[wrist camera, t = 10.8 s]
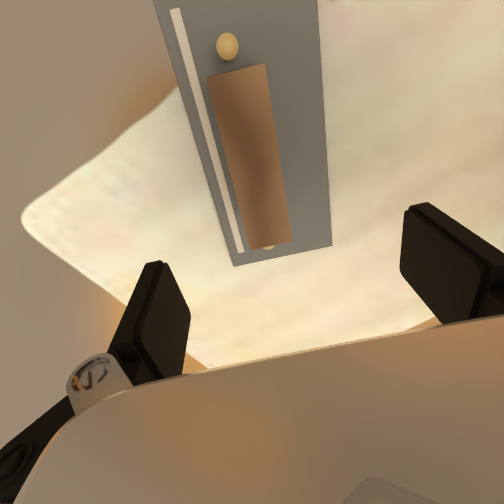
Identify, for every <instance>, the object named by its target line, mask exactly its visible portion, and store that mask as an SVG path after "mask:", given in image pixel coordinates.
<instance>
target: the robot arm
mask: <svg viewBox="0 0 504 504" xmlns="http://www.w3.org/2000/svg"><path fill="white" fill-rule="evenodd" d="M400 272H401V274H402V276H403V277H404V278H405V280H406V281H407V282H408V283H409V285H410V286H411V287H412V288H413V289H414V291H415V292H416V293H417V294H418V295H419V297H420V298H421V299H422V300H423V301H424V303H425V304H426V305H427V306H428V307H429V309H430V310H431V311H432V312H433V314H434V315H435V316H436V317H437V318H438V319H439V321H440V322H441V323H442V325H436V326H431V327H426V328H420V329H415V330H409V331H404V332H399V333H393V334H388V335H382V336H377V337H372V338H366V339H361V340H356V341H350V342H345V343H340V344H335V345H329V346H324V347H319V348H314V349H308V350H303V351H298V352H293V353H288V354H282V355H277V356H272V357H267V358H262V359H257V360H252V361H247V362H242V363H237V364H231V365H226V366H221V367H216V368H211V369H206V370H201V371H197V372H192V373H187V374H182V369H183V363H184V357H185V351H186V345H187V339H188V332H189V326H190V320H191V314H190V310H189V308H188V306H187V304H186V302H185V299H184V297H183V295H182V293H181V291H180V289H179V286H178V284H177V282H176V280H175V278H174V276H173V274H172V271H171V269H170V267H169V265H168V264H167V263H163V262H162V261H161V260H159V261H154V262H150V263H146V264H145V266H144V268H143V271H142V273H141V275H140V278H139V280H138V282H137V284H136V287H135V289H134V291H133V294H132V296H131V298H130V300H129V303H128V305H127V307H126V310H125V312H124V314H123V317H122V319H121V321H120V323H119V326H118V328H117V330H116V332H115V335H114V337H113V339H112V342H111V344H110V346H109V349H108V351H107V353H101V354H97V355H94V356H92V357H90V358H88V359H86V360H85V361H84V362H82V363H81V364H80V365H79V366H78V367H77V368H76V369H75V370H74V371H73V372H72V374H71V375H70V377H69V379H68V381H67V384H66V391H67V394H68V395H67V396H66V397H64V398H63V399H62V400H61V401H60V402H58V403H57V404H56V405H55V406H53V407H52V408H51V409H50V410H48V411H47V412H46V413H45V414H43V415H42V416H41V417H40V418H38V419H37V420H36V421H35V422H33V423H32V424H31V425H30V426H28V427H27V428H26V429H25V430H24V431H22V432H21V433H20V434H18V435H17V436H16V437H15V438H13V439H12V440H11V441H10V442H9V443H7V444H6V445H5V446H4V447H3V448H2V449H1V450H0V504H504V253H503V252H501V251H500V250H498V249H497V248H495V247H494V246H492V245H491V244H489V243H488V242H486V241H485V240H483V239H482V238H480V237H479V236H478V235H476V234H475V233H473V232H472V231H470V230H469V229H467V228H466V227H464V226H463V225H461V224H460V223H458V222H457V221H455V220H454V219H452V218H451V217H449V216H448V215H446V214H445V213H443V212H442V211H441V210H439V209H438V208H436V207H435V206H433V205H432V204H430V203H428V202H425V203H420V204H416V205H411V206H410V207H409V209H408V210H406V211H405V213H404V221H403V232H402V244H401V256H400Z"/></svg>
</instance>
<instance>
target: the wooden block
mask: <svg viewBox="0 0 504 504" xmlns="http://www.w3.org/2000/svg"><path fill="white" fill-rule="evenodd" d="M206 80H207V84H208V88H209V92H210V96H211V100H212V104H213V107H214V111H215V115H216V119H217V123H218V127H219V131H220V135H221V139H222V143H223V147H224V150H225V154H226V158H227V162H228V166H229V170H230V174H231V178H232V182H233V186H234V189H235V193H236V197H237V201H238V205H239V209H240V213H241V217H242V221H243V225H244V229H245V232H246V236H247V240H248V244H249V248H250V250H254V249H259V248H264V247H268V246H273V245H278V244H282V243H287V242H292V235H291V229H290V222H289V216H288V209H287V203H286V196H285V190H284V184H283V177H282V171H281V164H280V158H279V151H278V145H277V138H276V132H275V126H274V119H273V113H272V106H271V100H270V93H269V87H268V80H267V74H266V67H265V63H262V64H256V65H252V66H248V67H244V68H240V69H236V70H232V71H228V72H224V73H220V74H216V75H212V76H210V77H207V78H206Z"/></svg>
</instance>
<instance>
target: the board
mask: <svg viewBox="0 0 504 504" xmlns="http://www.w3.org/2000/svg"><path fill="white" fill-rule="evenodd" d="M153 2H154V6H155V9H156V12H157V16H158V19H159V22H160V25H161V29H162V32H163V35H164V39H165V42H166V45H167V48H168V52H169V55H170V59H171V62H172V65H173V68H174V72H175V75H176V78H177V82H178V85H179V88H180V92H181V95H182V98H183V102H184V105H185V108H186V111H187V115H188V118H189V121H190V125H191V128H192V131H193V135H194V138H195V141H196V145H197V148H198V151H199V154H200V158H201V161H202V164H203V168H204V171H205V174H206V178H207V181H208V184H209V187H210V191H211V194H212V197H213V201H214V204H215V207H216V211H217V214H218V217H219V221H220V224H221V227H222V230H223V234H224V237H225V240H226V244H227V247H228V250H229V254H230V257H231V260H232V264H233V267H234V266H239V265H244V264H249V263H253V262H258V261H263V260H268V259H272V258H277V257H282V256H287V255H291V254H296V253H301V252H305V251H310V250H315V249H320V248H324V247H329V246H332V231H331V215H330V199H329V183H328V167H327V151H326V134H325V118H324V102H323V86H322V70H321V54H320V38H319V22H318V6H317V0H153ZM262 63H265V67H266V74H267V80H268V87H269V93H270V100H271V106H272V113H273V119H274V126H275V132H276V138H277V145H278V151H279V158H280V164H281V171H282V177H283V184H284V190H285V196H286V203H287V209H288V216H289V222H290V229H291V235H292V242H287V243H282V244H278V245H273V246H268V247H264V248H259V249H254V250H250V248H249V244H248V240H247V236H246V232H245V229H244V225H243V221H242V217H241V213H240V209H239V205H238V201H237V197H236V193H235V189H234V186H233V182H232V178H231V174H230V170H229V166H228V162H227V158H226V154H225V150H224V147H223V143H222V139H221V135H220V131H219V127H218V123H217V119H216V115H215V111H214V107H213V104H212V100H211V96H210V92H209V88H208V84H207V80H206V78H207V77H210V76H212V75H216V74H220V73H224V72H228V71H232V70H236V69H240V68H244V67H248V66H252V65H256V64H262Z"/></svg>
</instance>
